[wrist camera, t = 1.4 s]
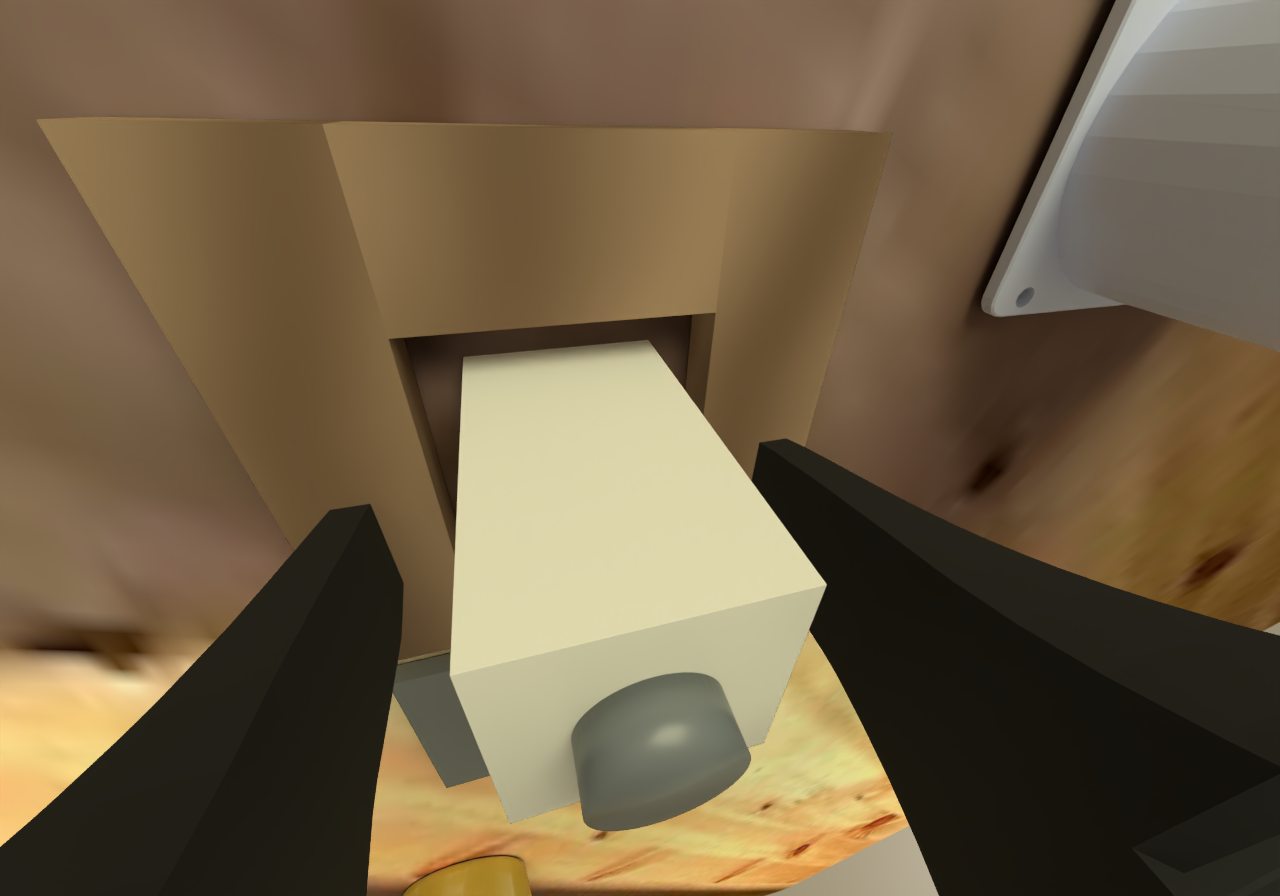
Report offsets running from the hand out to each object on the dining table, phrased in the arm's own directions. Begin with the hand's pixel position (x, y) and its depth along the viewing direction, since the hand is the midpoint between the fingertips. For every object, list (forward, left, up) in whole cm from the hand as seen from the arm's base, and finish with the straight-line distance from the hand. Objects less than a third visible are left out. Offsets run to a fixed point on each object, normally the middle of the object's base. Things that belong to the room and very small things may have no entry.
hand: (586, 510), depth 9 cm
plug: (0, 0, -3) cm, 3 cm away
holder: (0, 0, -3) cm, 3 cm away
